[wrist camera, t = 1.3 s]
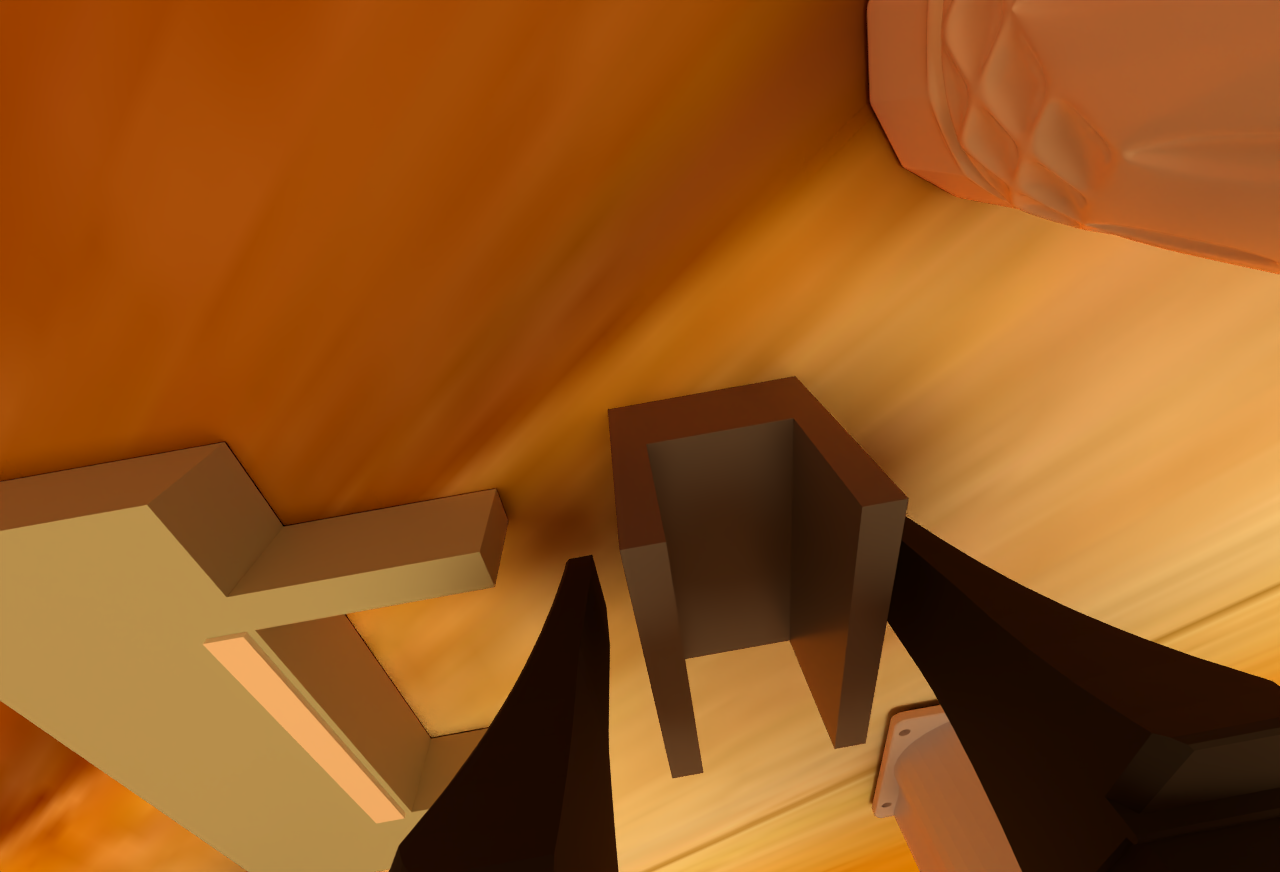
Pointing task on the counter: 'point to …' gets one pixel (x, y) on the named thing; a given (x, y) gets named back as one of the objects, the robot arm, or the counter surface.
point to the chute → (754, 546)
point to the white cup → (1093, 113)
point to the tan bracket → (233, 650)
